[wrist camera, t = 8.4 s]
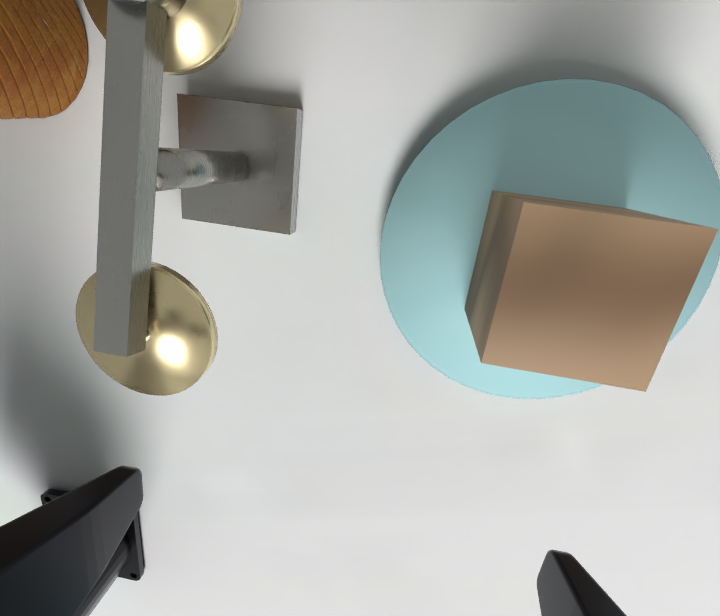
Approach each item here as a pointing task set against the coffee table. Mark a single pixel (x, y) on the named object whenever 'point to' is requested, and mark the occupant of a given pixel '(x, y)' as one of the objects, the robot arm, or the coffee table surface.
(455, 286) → the teal dish
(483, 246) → the tan block
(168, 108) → the coffee table surface
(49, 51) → the disposable coffee cup
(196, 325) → the balance
